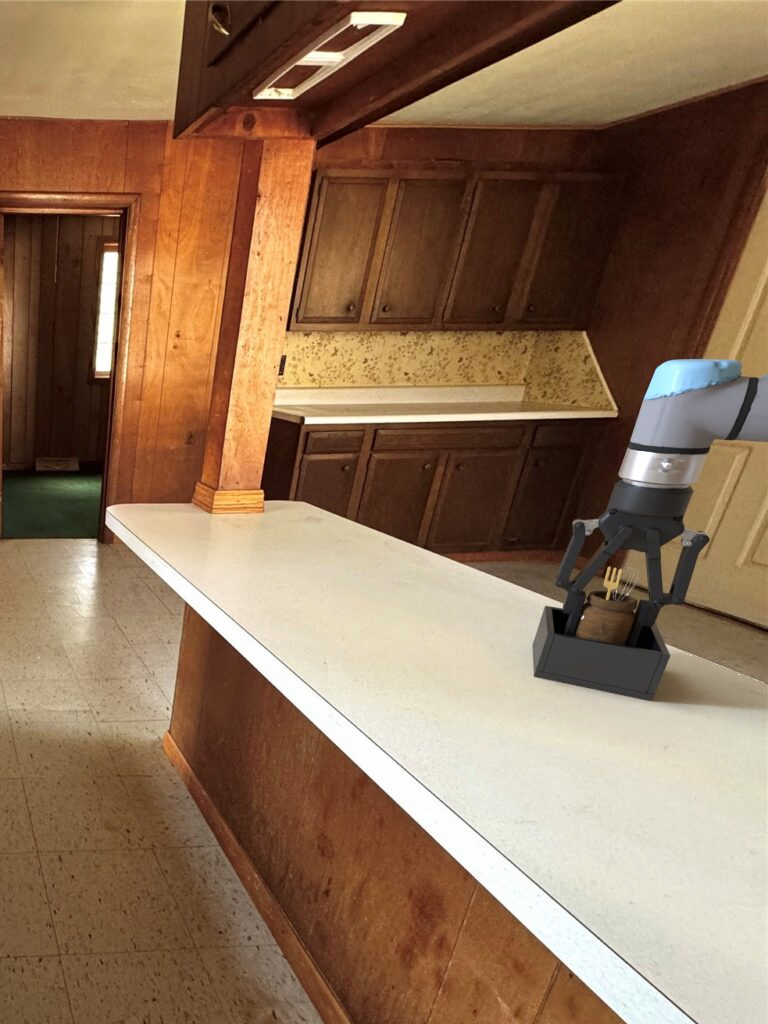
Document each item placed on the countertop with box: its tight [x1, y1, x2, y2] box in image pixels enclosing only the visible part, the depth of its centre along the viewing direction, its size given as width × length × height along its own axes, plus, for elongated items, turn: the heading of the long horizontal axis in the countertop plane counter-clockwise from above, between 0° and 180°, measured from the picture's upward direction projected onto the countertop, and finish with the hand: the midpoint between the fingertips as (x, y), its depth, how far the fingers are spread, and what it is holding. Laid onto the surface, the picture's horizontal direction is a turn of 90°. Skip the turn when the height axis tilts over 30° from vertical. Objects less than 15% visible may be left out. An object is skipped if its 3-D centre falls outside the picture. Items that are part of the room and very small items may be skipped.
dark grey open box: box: [532, 605, 671, 702], centre depth 97 cm, size 13×13×7 cm
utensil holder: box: [573, 566, 640, 645], centre depth 94 cm, size 6×6×12 cm
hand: (598, 639), depth 96 cm, fingers closed on utensil holder, 6 cm apart
